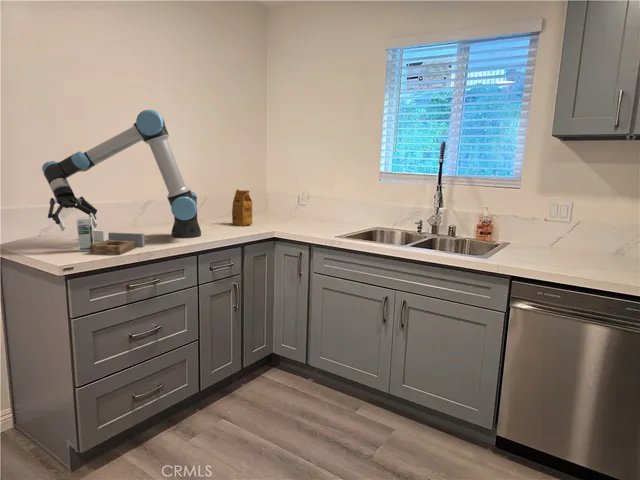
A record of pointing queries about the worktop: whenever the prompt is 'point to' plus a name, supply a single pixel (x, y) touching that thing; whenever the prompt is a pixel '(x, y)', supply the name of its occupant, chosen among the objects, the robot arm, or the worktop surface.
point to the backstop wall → (128, 238)
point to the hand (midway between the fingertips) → (80, 227)
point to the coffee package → (242, 208)
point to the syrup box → (85, 233)
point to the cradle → (112, 247)
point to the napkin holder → (99, 235)
